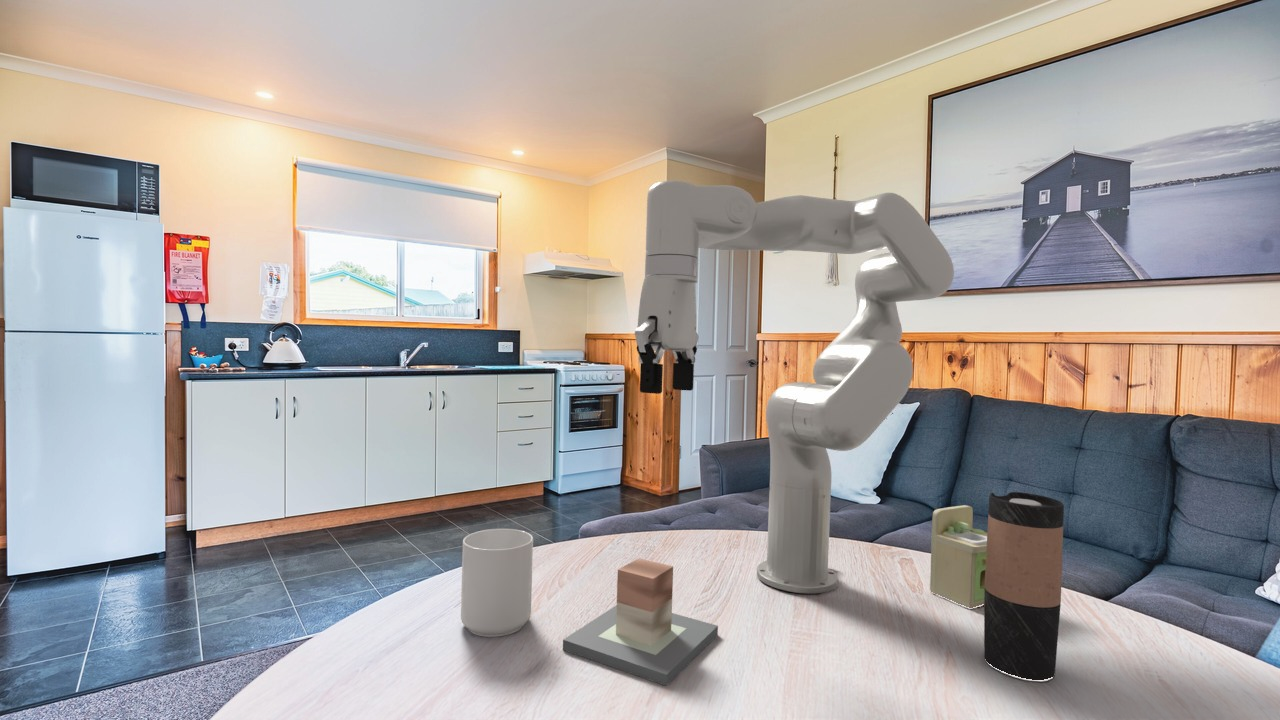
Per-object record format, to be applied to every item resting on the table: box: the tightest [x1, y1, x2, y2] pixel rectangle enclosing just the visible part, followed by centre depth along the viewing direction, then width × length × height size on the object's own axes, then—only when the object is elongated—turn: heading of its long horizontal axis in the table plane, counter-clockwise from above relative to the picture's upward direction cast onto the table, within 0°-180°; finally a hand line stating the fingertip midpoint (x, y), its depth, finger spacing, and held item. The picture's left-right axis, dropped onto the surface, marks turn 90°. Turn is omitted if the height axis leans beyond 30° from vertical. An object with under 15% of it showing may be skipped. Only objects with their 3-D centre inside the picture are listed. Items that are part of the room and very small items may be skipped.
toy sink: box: [929, 504, 987, 608], centre depth 92 cm, size 8×7×13 cm
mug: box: [460, 528, 534, 638], centre depth 80 cm, size 12×9×11 cm
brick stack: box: [616, 557, 674, 646], centre depth 75 cm, size 5×5×8 cm
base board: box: [562, 604, 719, 686], centre depth 75 cm, size 14×14×1 cm
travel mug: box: [983, 491, 1065, 680], centre depth 72 cm, size 8×8×20 cm
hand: (667, 391), depth 87 cm, fingers open, 9 cm apart
